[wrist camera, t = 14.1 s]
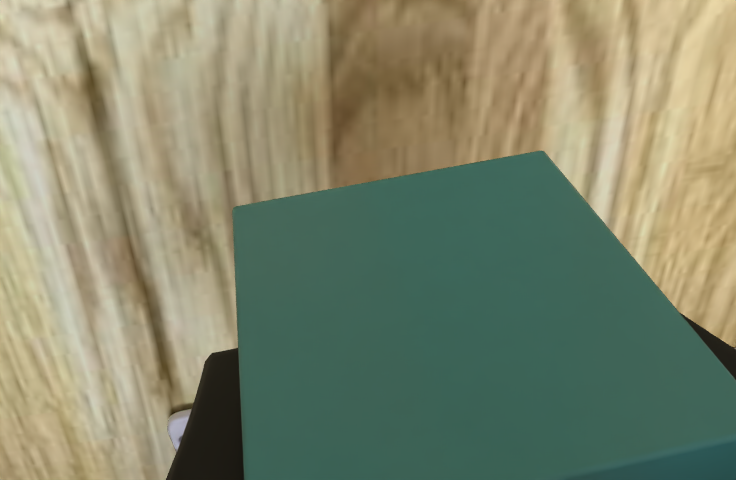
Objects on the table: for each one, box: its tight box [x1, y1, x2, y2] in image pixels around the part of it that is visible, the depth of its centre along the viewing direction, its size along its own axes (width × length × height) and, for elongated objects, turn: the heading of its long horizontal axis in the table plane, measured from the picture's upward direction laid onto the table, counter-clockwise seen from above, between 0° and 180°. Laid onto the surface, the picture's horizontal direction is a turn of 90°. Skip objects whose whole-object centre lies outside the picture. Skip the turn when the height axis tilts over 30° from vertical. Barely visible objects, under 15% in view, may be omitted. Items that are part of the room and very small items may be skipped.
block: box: [232, 151, 736, 480], centre depth 9 cm, size 4×4×5 cm
